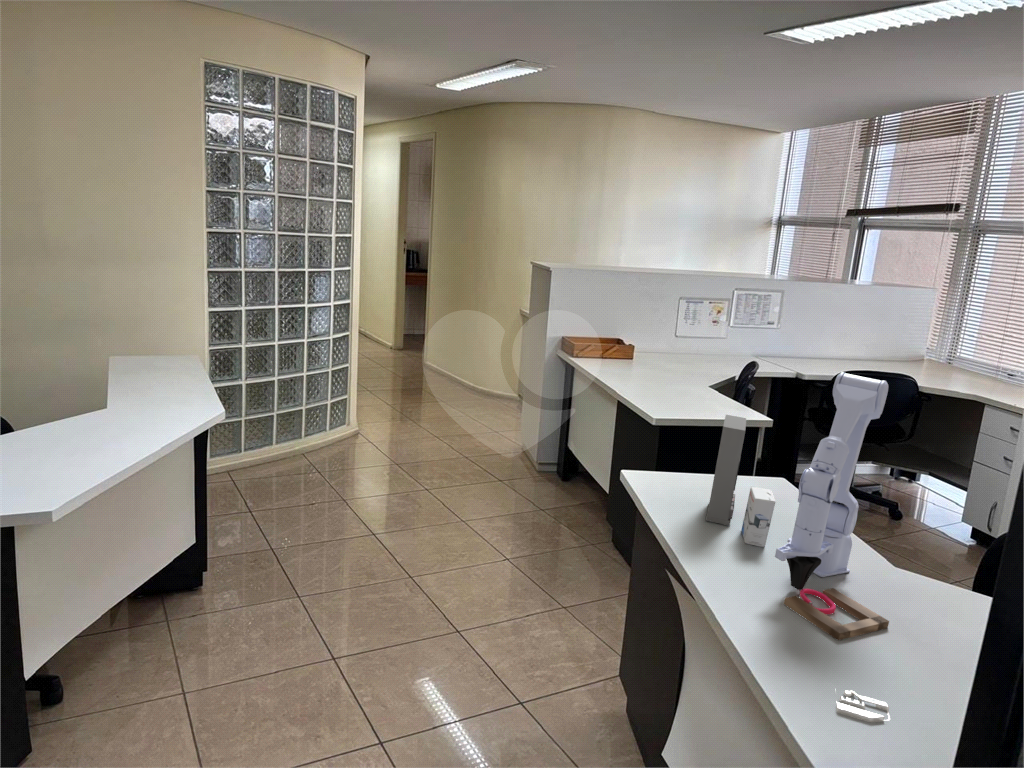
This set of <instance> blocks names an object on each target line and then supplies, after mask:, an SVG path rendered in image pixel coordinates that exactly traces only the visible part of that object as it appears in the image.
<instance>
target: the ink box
mask: <svg viewBox="0 0 1024 768" xmlns="http://www.w3.org/2000/svg"><path fill="white" fill-rule="evenodd" d="M775 505H776V498H775V496H774V494H773V491H772V489H768V488H764V487H763V488H762V487H756V486H750V489H749V494H748V498H747V504H746V508H745V512H744V516H743V520H742V524H741V533H742V537H743V541H744V544H748V545H752V546H757V547H762V548H766V543H767V540H768V535H769V533H770V532H769V530H770V526H771V522H772V519H773V518H772V517H773V514H774V511H775V507H776V506H775Z"/></svg>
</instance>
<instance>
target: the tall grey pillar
mask: <svg viewBox="0 0 1024 768" xmlns="http://www.w3.org/2000/svg"><path fill="white" fill-rule="evenodd" d="M746 426H747V418H746V417H743V416H742V417H741V416H737V415H730V414H725V417H724V421H723V425H722V432H721V436H720V444H719V449H718V453H717V454H718V455H717V459H716V465H715V471H714V476H713V481H712V482H713V483H712V486H711V493H710V496H709V501H708V503H709V504H708V507H707V513H706V516H705V521H707V522H712V523H717V524H719V525H724V526H730V525H731V522H732V521H731V520H733V515H734V510H735V503H736V502H735V500H736V493H735V491H736V486H737V485H736V484H737V480H738V475H739V469H740V464H741V457H742V456H741V455H742V450H743V446H744V445H743V444H744V440H745V434H746V428H747V427H746Z"/></svg>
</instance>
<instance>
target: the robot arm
mask: <svg viewBox="0 0 1024 768" xmlns="http://www.w3.org/2000/svg"><path fill="white" fill-rule="evenodd" d="M888 392H889V384H888V382H887V380H880V379H876V378H871V377H865V376H860V375H856V374H852V373H851V374H850V373H846V372H845V371H842V372H840V373H838V374H837V376H836V378H835V380H834V384H833V388H832V397H833V402H834V403H833V404H834V405H835V408H836V411H835V415H834V418H833V421H832V425H831V428H830V432H829V435H828V436H826V437H824V438H822V439H821V440H820V441H819V444H818V446H817V449H816V451H815V453H814V456H813V457H812V461H811V463H810V465H809V468H805V469H804V470H803V472H802V474H801V476H800V479H799V485H798V497H797V502H798V508H797V511H796V512H797V513H796V517H795V521H794V522H795V523H794V526H793V527H794V528H793V531H792V535H791V536H792V537H789V538H787V543H785V544H784V545H782V546H780V547H778V548H777V547H776V548H775V552H774V553H775V554H774V557H775V558H776V559H777V560H779V561H780V562H784V561H787V563H788V568H789V574H790V577H789V578H790V586H791V587H793V588H794V589H796V590H797V591H801V590H802V589H805V586H806V584H807V582H808V580H809V578H810V577H811V575H812V574H815V575H817V576H818V577H820V578H824V577H829V576H835V575H840V574H846V573H850V571H851V569H850V568H848V565H849V561H850V555H851V552H852V548H853V547H852V546H853V540H852V537H851V535H852V534H853V531H854V529H855V526H856V523H857V519H858V512H859V508H860V506H859V502H858V500H857V499H856V498H855V496H853V494H852V493H851V492H850V487H851V484H852V480H853V477H854V473H855V470H856V466H857V463H858V459H859V455H860V453H861V452H860V451H861V448H862V446H863V441H864V438H865V434H866V431H867V428H868V426H869V424H870V422H871V420H877V419H880V417H881V415H882V414H883V411H884V408H885V404H886V400H887V396H888ZM833 501H834V502H833ZM835 502H836V503H835ZM839 503H840V504H839Z"/></svg>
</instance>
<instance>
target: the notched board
mask: <svg viewBox="0 0 1024 768" xmlns="http://www.w3.org/2000/svg"><path fill="white" fill-rule="evenodd" d="M822 593H823V594H825V595H826V596H827V597H829V598H830V599H831V600H832V601H833V602H834V603H835V604H836V605H838V606H839V607H841V608H843V609H844V610H846V611H847V612H846V611H845V612H846V613H848V614H849V613H850V615H851V616H853V617H854V616H855V617H854V618H855V619H857V620H856V621H854V622H853V621H852V622H849V623H845V624H841V623H839V622H838V621H837V620H836V619H833V618H832V617H830V616H829V615H828V614H824V613H822V612H821V611H819V610H818V609H816V608H817V607H816V608H815V606H814V605H812V606H811V605H810V604H808V603H807V602H805V601H803V600H802V599H800V598H799V596H797V595H791V596H788V597H784V601H783V605H784V604H785V605H786V606H785V605H784V606H785V607H787V606H788V607H789V608H788V607H787V608H788V609H790V608H791V609H792V610H791V609H790V610H791V611H793V610H794V611H795V612H794V611H793V612H794V613H796V612H797V613H798V614H797V613H796V614H797V615H799V614H800V615H801V617H802V616H803V617H804V618H803V617H802V618H803V619H805V618H806V619H807V620H806V619H805V620H806V621H808V622H809V621H810V622H809V623H811V624H812V623H813V624H812V625H814V626H815V625H816V626H815V627H817V628H818V629H820V630H821V631H823V632H824V633H826V634H828V635H830V637H832V638H834V639H835V640H836V641H842V640H845V639H846V640H847V639H850V638H851V639H852V638H855V637H858V636H862V635H866V634H871V633H873V632H877V631H881V630H885V629H888V627H889V624H890V620H888V619H886V617H883V616H881V615H880V614H878V613H876V612H875V611H873V610H872V609H870V608H868V607H866V606H864V605H863V604H862V603H860V602H858V601H856V600H854V599H853V598H851V597H849V596H847V595H846V594H844V593H842V592H840V591H839V590H837V588H834V587H832V588H827V589H826V588H825V589H823V590H822ZM813 606H814V607H813ZM838 606H837V607H838ZM839 607H838V608H839ZM841 608H840V609H841ZM843 609H842V610H843ZM844 610H843V611H844ZM800 615H799V616H800Z"/></svg>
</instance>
